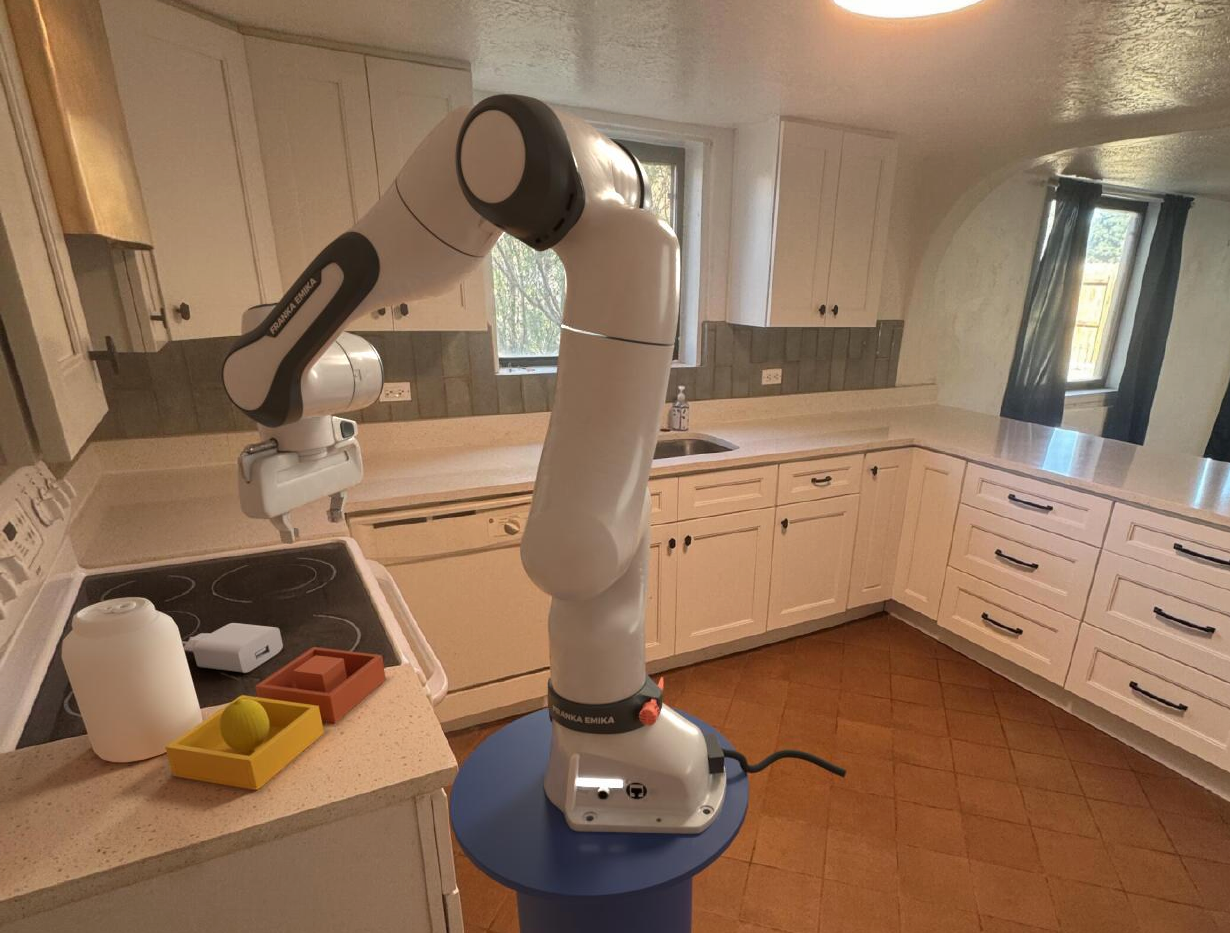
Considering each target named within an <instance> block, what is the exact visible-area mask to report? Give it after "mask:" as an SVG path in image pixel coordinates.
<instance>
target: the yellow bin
mask: <svg viewBox="0 0 1230 933" xmlns="http://www.w3.org/2000/svg"><path fill="white" fill-rule="evenodd" d="M237 699H250V700H254V701H256V702H258V703H259V704H260V705H261V706H262V707H263V708H264V710H265V711H266V713H267V716H268V719H269V732H268V736H267V738H266V739H265V741H264V742H263V743H262V744H261V745H260V746H258V747H256V748H255V749H254V750H253V751H251V752H249V751H239V750H235V749H233V748H231V747H230V746H228V745H227V744H226V742H225V741H224V739H223V737H222V735H221V731H220V720H221V715H222V713H223V711H224V710H225V708H226V707H227V706H228V705H230V704H231V703H233V702H235V701H236V700H237ZM324 734H325V730H324V726H323V721H322V720H321V715H320V710H319V706H316V705H309V704H302V703H295V702H287V701H280V700H273V699H266V698H259V697H257V696H250V695H244V694H241V695H240V696H238V697H236V698H235V699H234V700H232V701H231V702H229V703H228V704H226V705H225V706H223V707H222V708H221V709H219V710H218V711H216V712H214V713H213V714H212V715H210V716H208V717H207V718H206V719H204V720H203V721H202V722H201V723H200V724H198V725H197V726H195V727H194V728H192V729H191V730H189V731H188V732H186V733H185V734H184V735H182V736H181V737H179V738H178V739H176V740H175V741H173V742H172V743H170V744H169V745H167V746H166V747H165V748H166V752H165V753H166V755H167V758H168V762H169V764H170V768H171V772H172V775H173V776H174V777H177V778H184V779H190V780H195V781H202V782H207V783H212V784H217V785H224V786H230V787H235V788H242V789H247V790H253V791H258V790H260V789H261V788H262V787H263V786H264V785H266V784H267V783H268V782H269V781H270V780H271V779H272V778H274V777H275V776H276V775H278V773H280V772H281V771H282V770H283V769H284V768H285V767H286V766H288V765H289V764H290V763H291V762H292V761H293V760H294V759H295V758H297V757H298V756H300V754H301V753H302V752H304V751H305V750H306V749H307V748H309V747H310V746H311V745H312V744H313V743H315V741H317V740H318V739H319V738H321V736H323V735H324Z"/></svg>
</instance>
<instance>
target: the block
mask: <svg viewBox="0 0 1230 933" xmlns="http://www.w3.org/2000/svg"><path fill="white" fill-rule="evenodd" d="M293 673H294V678H295V682H296V687H297V689H301V690H309V691H316V692H323V693H330V692H331V691H333V690H334V689H335V688H336V687H338V686H339V685H340V684H342V683H343V682H344V681H345V680H347V675H346V670H345V664H344V659H342V658H334V657H326V656H317V655H315V656H314V657H312V658H311V659H309V660H308V661H306V662H305V663H304V664H302V665H301V666H299V667H298V668H296V669H295V670H294V671H293Z"/></svg>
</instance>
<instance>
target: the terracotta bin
mask: <svg viewBox="0 0 1230 933" xmlns="http://www.w3.org/2000/svg"><path fill="white" fill-rule="evenodd" d="M315 655H317V656H326V657H334V658H342V659H344V664H345V670H346V675H347V680H345V681H344V682H343V683H342V684H340V685H339V686H338V687H336V688H335V689H334V690H333V691H331V692H330V693H323V692H316V691H309V690H301V689H297V687H296V682H295V678H294V673H293V671H294V670H295V669H296V668H298V667H299V666H301V665H302V664H304V663H305V662H306V661H308V660H309V659H311V658H312V657H314V656H315ZM386 680H387V678H386V672H385V665H384V660H383V655H382V654H376V653H366V652H358V651H350V650H342V649H335V648H334V649H332V648H326V647H317V646H312V647H311V648H309V649H308V650H306V651H305V652H303V653H302V654H300V655H299V656H298V657H296V658H294V659H293V660H291V661H290V662H289V663H287V664H286V665H284V666H283V667H281V668H280V669H278V670H276V672H273V674H271V675H270V676H268V677H267V678H265V679H263V680H262V681H261V682H259V683H257V684H256V685H255V686H254V689H255V693H256V697H259V698H266V699H273V700H280V701H287V702H295V703H302V704H309V705H316V706H319V710H320V715H321V720H322V723H323V722H325V723H331V724H336V723H338V722H339V721H340V720H341V719H342V718H343V717H344V716H346V715H347V714H348V713H349V712H351V710H352V709H354V708H355V707H356V706H357V705H358V704H360V703H361V702H362V701H363V700H364V699H365V698H367V697H368V696H369V695H370V694H371V693H372V692H374V691H375V690H376V689H377V688H378V687H379V686H381V685H382V684H384V682H385V681H386Z"/></svg>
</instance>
